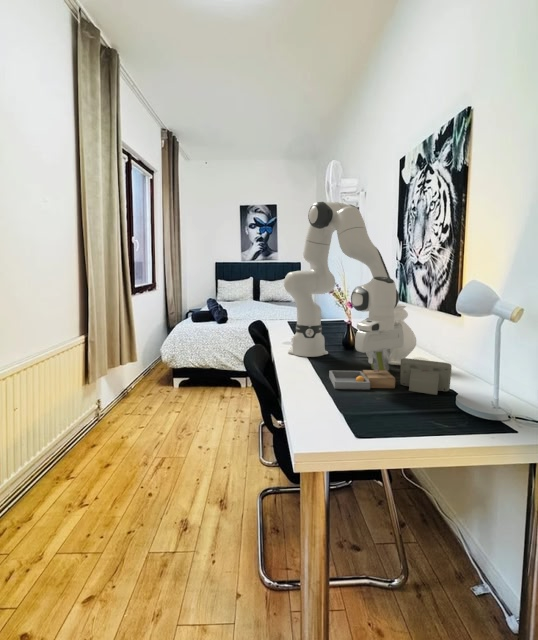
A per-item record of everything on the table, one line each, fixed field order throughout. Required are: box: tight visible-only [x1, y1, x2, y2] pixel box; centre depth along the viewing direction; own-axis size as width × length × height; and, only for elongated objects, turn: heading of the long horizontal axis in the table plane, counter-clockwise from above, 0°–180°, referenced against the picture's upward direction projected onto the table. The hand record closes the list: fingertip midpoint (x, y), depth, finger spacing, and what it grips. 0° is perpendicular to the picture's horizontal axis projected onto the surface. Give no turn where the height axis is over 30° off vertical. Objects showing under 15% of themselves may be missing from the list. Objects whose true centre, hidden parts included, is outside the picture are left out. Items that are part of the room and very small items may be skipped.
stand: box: [362, 369, 396, 389], centre depth 137 cm, size 10×9×4 cm
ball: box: [356, 376, 365, 382], centre depth 135 cm, size 3×3×3 cm
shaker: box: [372, 348, 390, 372], centre depth 135 cm, size 6×6×8 cm
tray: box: [328, 370, 371, 391], centre depth 137 cm, size 14×12×2 cm
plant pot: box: [370, 352, 389, 370], centre depth 155 cm, size 9×9×9 cm
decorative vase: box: [388, 303, 417, 366], centre depth 167 cm, size 18×18×25 cm
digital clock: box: [399, 357, 452, 396], centre depth 130 cm, size 16×9×11 cm, turn 52°
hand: (379, 362), depth 136 cm, fingers closed on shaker, 6 cm apart
